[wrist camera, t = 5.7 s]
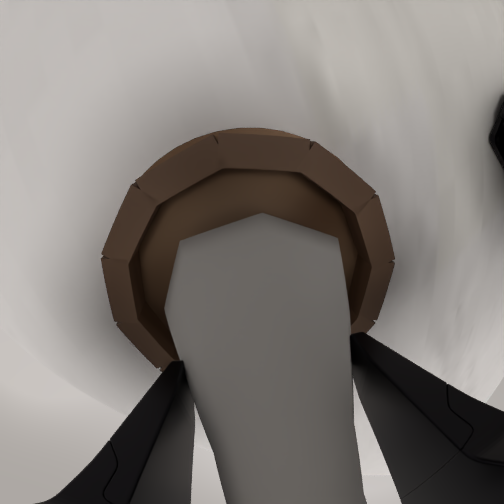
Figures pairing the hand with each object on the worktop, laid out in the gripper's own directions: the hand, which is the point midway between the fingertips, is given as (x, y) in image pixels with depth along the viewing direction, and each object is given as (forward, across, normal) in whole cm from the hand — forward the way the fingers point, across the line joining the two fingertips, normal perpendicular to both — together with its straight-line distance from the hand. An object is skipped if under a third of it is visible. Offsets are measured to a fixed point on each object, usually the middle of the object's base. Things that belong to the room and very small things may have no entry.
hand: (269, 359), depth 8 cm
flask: (+3, 0, 0) cm, 3 cm away
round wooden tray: (+6, 0, 0) cm, 6 cm away
